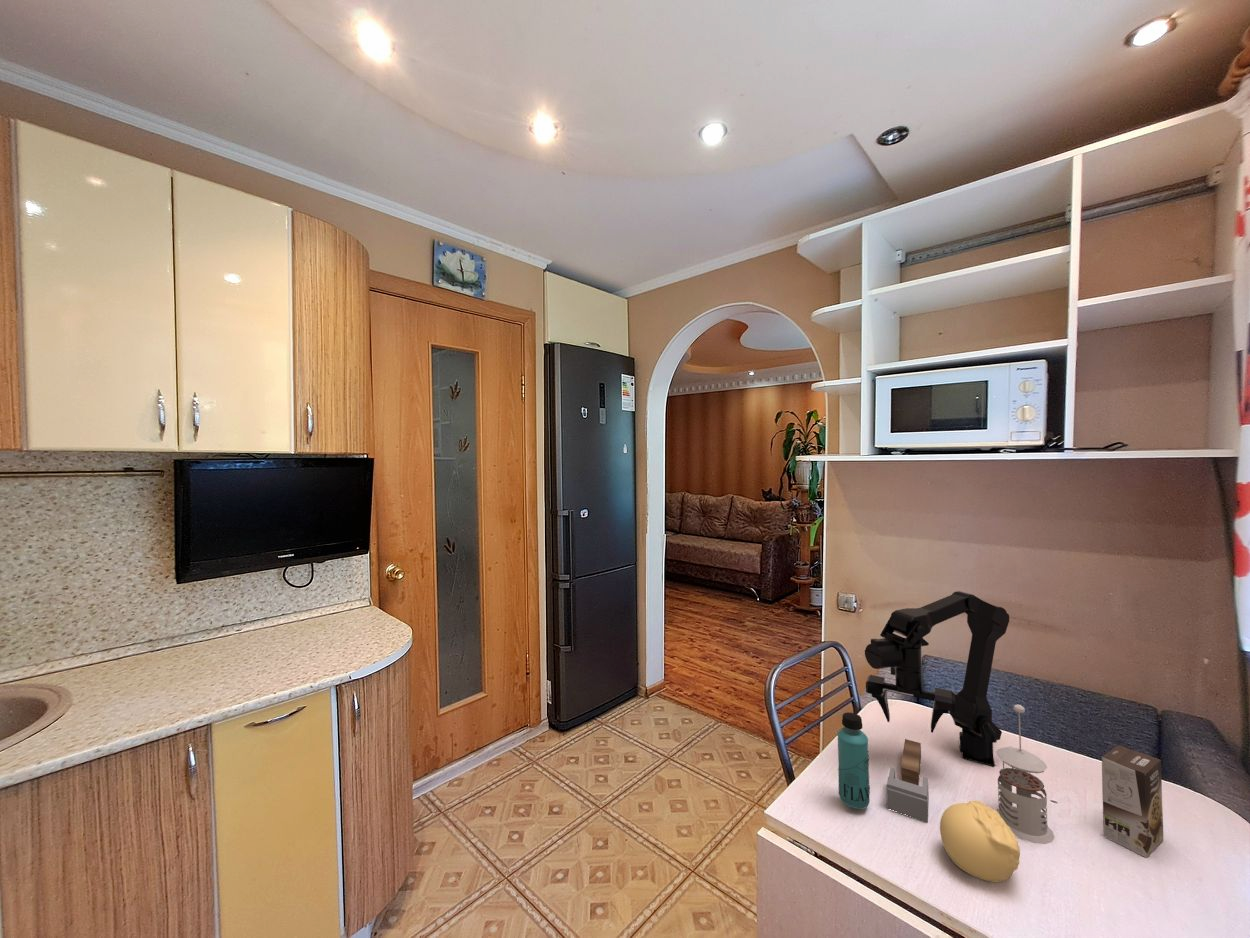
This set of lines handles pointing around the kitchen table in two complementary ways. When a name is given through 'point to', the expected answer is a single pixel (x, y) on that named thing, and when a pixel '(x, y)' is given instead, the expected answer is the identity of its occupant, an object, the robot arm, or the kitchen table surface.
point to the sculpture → (979, 841)
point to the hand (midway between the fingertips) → (909, 726)
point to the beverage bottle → (853, 762)
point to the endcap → (908, 797)
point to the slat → (911, 762)
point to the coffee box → (1132, 800)
